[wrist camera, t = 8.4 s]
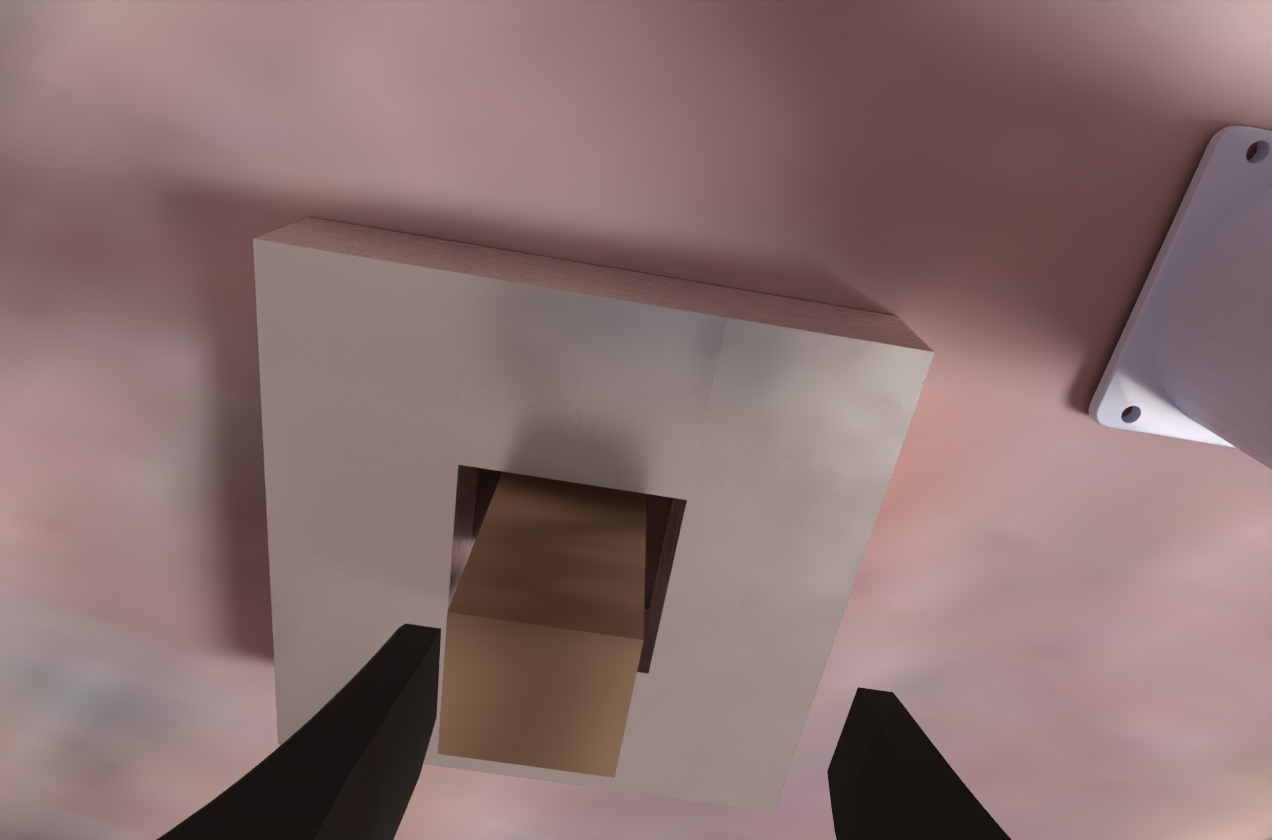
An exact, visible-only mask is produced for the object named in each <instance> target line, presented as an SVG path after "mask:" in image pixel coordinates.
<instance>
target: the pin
mask: <svg viewBox="0 0 1272 840" xmlns="http://www.w3.org/2000/svg"><path fill="white" fill-rule="evenodd" d="M646 507H647V494H645V493H638V492H632V491H626V490H619V489H613V488H606V487H600V486H593V485H587V484H580V483H574V482H567V481H561V480H554V479H548V478H542V477H535V476H529V475H522V474H516V473H509V472H502V474H501V477H500V479H499V482H498V484H497V487H496V489H495V492H494V495H493V497H492V500H491V502H490V505H489V507H488V510H487V512H486V515H485V517H484V520H483V523H482V525H481V528H480V530H479V533H478V535H477V538H476V540H475V543H474V545H473V548H472V550H471V553H470V556H469V558H468V561H467V563H466V566H465V568H464V571H463V573H462V576H461V578H460V581H459V584H458V586H457V589H456V591H455V594H454V596H453V599H452V601H451V604H450V606H449V609H448V612H447V624H446V638H445V653H444V667H443V682H442V697H441V711H440V726H439V740H438V754H442V755H449V756H457V757H464V758H472V759H479V760H486V761H494V762H501V763H509V764H516V765H524V766H531V767H538V768H546V769H553V770H561V771H568V772H575V773H583V774H590V775H598V776H605V777H613V778H615V774H616V769H617V765H618V760H619V755H620V750H621V746H622V741H623V736H624V731H625V727H626V722H627V717H628V712H629V708H630V703H631V698H632V693H633V688H634V684H635V679H636V674H637V669H638V665H639V660H640V655H641V650H642V646H643V641H644V600H645V553H646Z"/></svg>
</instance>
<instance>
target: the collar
mask: <svg viewBox="0 0 1272 840" xmlns="http://www.w3.org/2000/svg"><path fill="white" fill-rule="evenodd" d="M253 251H254V271H255V291H256V311H257V331H258V351H259V370H260V390H261V410H262V430H263V450H264V470H265V490H266V509H267V529H268V549H269V569H270V589H271V609H272V629H273V648H274V668H275V688H276V708H277V728H278V744H281V745H282V744H283V743H284V742H285V741H286V740H287V739H289V738H290V737H291V736H292V735H293V734H294V733H295V732H297V731H298V730H299V729H300V728H301V727H302V726H303V725H304V724H306V723H307V722H308V721H309V720H310V719H311V718H312V717H313V716H314V715H315V714H316V713H318V712H319V711H320V710H321V709H322V708H323V707H324V706H325V705H326V704H327V703H328V702H329V701H330V700H331V699H332V698H333V697H334V696H335V695H336V694H337V693H338V692H339V691H340V690H341V689H342V688H343V687H344V686H345V685H346V684H347V683H348V682H349V681H350V680H351V679H352V678H353V677H354V676H355V675H356V674H357V673H358V672H359V671H360V670H361V669H362V668H363V667H364V666H365V665H366V664H367V663H368V661H369V660H370V659H371V658H372V657H373V656H374V655H375V654H376V653H377V652H378V651H379V650H380V648H381V647H382V646H383V645H384V644H385V643H386V642H387V641H388V639H389V638H390V637H391V636H392V635H393V634H394V633H395V631H396V630H397V629H398V628H399V627H401V626H402V625H404V624H405V623H406V624H413V625H420V626H427V627H434V628H441V643H440V662H439V681H438V700H437V718H436V721H435V725H434V728H433V732H432V735H431V739H430V742H429V746H428V749H427V752H426V756H425V759H424V762H423V764H427V765H435V766H442V767H449V768H457V769H464V770H471V771H479V772H486V773H493V774H501V775H508V776H515V777H523V778H530V779H537V780H545V781H552V782H559V783H567V784H574V785H581V786H589V787H596V788H603V789H611V790H618V791H625V792H633V793H640V794H647V795H654V796H662V797H669V798H676V799H684V800H691V801H698V802H706V803H713V804H720V805H728V806H735V807H742V808H750V809H757V810H764V811H772V812H774V811H775V808H776V805H777V802H778V799H779V796H780V794H781V791H782V788H783V785H784V782H785V779H786V776H787V774H788V771H789V768H790V765H791V762H792V759H793V756H794V754H795V751H796V748H797V745H798V742H799V739H800V736H801V734H802V731H803V728H804V725H805V722H806V719H807V716H808V713H809V711H810V708H811V705H812V702H813V699H814V696H815V693H816V691H817V688H818V685H819V682H820V679H821V676H822V673H823V671H824V668H825V665H826V662H827V659H828V656H829V653H830V651H831V648H832V645H833V642H834V639H835V636H836V633H837V630H838V628H839V625H840V622H841V619H842V616H843V613H844V610H845V608H846V605H847V602H848V599H849V596H850V593H851V590H852V588H853V585H854V582H855V579H856V576H857V573H858V570H859V568H860V565H861V562H862V559H863V556H864V553H865V550H866V547H867V545H868V542H869V539H870V536H871V533H872V530H873V527H874V525H875V522H876V519H877V516H878V513H879V510H880V507H881V505H882V502H883V499H884V496H885V493H886V490H887V487H888V485H889V482H890V479H891V476H892V473H893V470H894V467H895V465H896V462H897V459H898V456H899V453H900V450H901V447H902V444H903V442H904V439H905V436H906V433H907V430H908V427H909V424H910V422H911V419H912V416H913V413H914V410H915V407H916V404H917V402H918V399H919V396H920V393H921V390H922V387H923V384H924V382H925V379H926V376H927V373H928V370H929V367H930V364H931V361H932V359H933V356H934V353H935V352H934V351H933V350H932V349H931V348H930V347H929V346H928V345H927V344H926V343H925V342H924V341H923V340H922V339H921V338H920V337H919V336H918V335H917V334H915V333H914V332H913V331H912V330H911V329H910V328H909V327H908V326H907V325H906V324H905V323H904V322H903V321H902V320H901V319H900V318H899V317H898V316H895V315H889V314H883V313H877V312H871V311H865V310H859V309H853V308H847V307H841V306H835V305H829V304H823V303H817V302H811V301H805V300H799V299H793V298H788V297H782V296H776V295H770V294H764V293H758V292H752V291H746V290H740V289H734V288H728V287H722V286H716V285H710V284H704V283H698V282H692V281H686V280H681V279H675V278H669V277H663V276H657V275H651V274H645V273H639V272H633V271H627V270H621V269H615V268H609V267H603V266H597V265H591V264H585V263H579V262H574V261H568V260H562V259H556V258H550V257H544V256H538V255H532V254H526V253H520V252H514V251H508V250H502V249H496V248H490V247H484V246H478V245H472V244H467V243H461V242H455V241H449V240H443V239H437V238H431V237H425V236H419V235H413V234H407V233H401V232H395V231H389V230H383V229H377V228H371V227H365V226H360V225H354V224H348V223H342V222H336V221H330V220H324V219H318V218H312V217H308V218H305V219H302V220H300V221H297V222H295V223H292V224H290V225H287V226H284V227H282V228H279V229H277V230H274V231H271V232H269V233H266V234H264V235H261V236H259V237H256V238H253ZM479 468H483V469H490V470H496V471H503V472H509V473H516V474H522V475H529V476H535V477H542V478H548V479H554V480H561V481H567V482H574V483H580V484H587V485H593V486H600V487H606V488H613V489H619V490H626V491H632V492H638V493H645V494H651V495H658V496H664V497H671V498H673V499H672V504H671V509H670V513H669V518H668V523H667V528H666V532H665V537H664V542H663V546H662V551H661V556H660V560H659V565H658V570H657V575H656V579H655V584H654V589H653V593H652V598H651V603H650V607H649V608H645V607H644V641H643V646H642V650H641V655H640V660H639V665H638V669H637V674H636V679H635V684H634V688H633V693H632V698H631V703H630V708H629V712H628V717H627V722H626V727H625V731H624V736H623V741H622V746H621V750H620V755H619V760H618V765H617V769H616V774H615V778H613V777H605V776H598V775H590V774H583V773H575V772H568V771H561V770H553V769H546V768H538V767H531V766H524V765H516V764H509V763H501V762H494V761H486V760H479V759H472V758H464V757H457V756H449V755H442V754H438V740H439V726H440V711H441V697H442V682H443V667H444V653H445V638H446V624H447V612H448V609H449V606H450V604H451V601H452V599H453V596H454V594H455V591H456V589H457V586H458V584H459V581H460V578H461V576H462V573H463V571H464V568H465V566H466V563H467V561H468V558H469V556H470V553H471V550H472V539H473V527H474V516H475V504H476V492H477V481H478V469H479Z"/></svg>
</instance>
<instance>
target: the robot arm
mask: <svg viewBox="0 0 1272 840" xmlns="http://www.w3.org/2000/svg"><path fill="white" fill-rule="evenodd" d="M1255 142H1256V143H1257V146H1258V148H1257V152H1256V154H1255V155H1254V156H1253V158H1251V159H1250V160H1248V161H1247V158H1246V153H1247V150H1248V148H1249V147H1250V146H1251V144H1253V143H1255ZM1129 406H1133V408H1132V411H1131V412H1130V413H1129V414H1128V415H1127V416H1125V417H1121V415H1122V412H1123V411H1124V410H1125V409H1126V408H1128V407H1129ZM1089 415H1090V417H1091V418H1092V419H1093V420H1094V421H1095V422H1097V423H1098V424H1099V425H1101V426H1104V427H1109V428H1115V429H1121V430H1127V431H1133V432H1139V433H1145V434H1151V435H1158V436H1164V437H1170V438H1176V439H1182V440H1188V441H1194V442H1200V443H1206V444H1213V445H1219V446H1225V447H1231V448H1237V449H1240V450H1241V451H1243V452H1244V453H1246V454H1248V455H1249V456H1251V457H1252V458H1254V459H1256V460H1257V461H1259V462H1260V463H1262V464H1264V465H1265V466H1267V467H1268V468H1270V469H1271V470H1272V131H1270V130H1265V129H1259V128H1254V127H1248V126H1228V127H1226V128H1223V129H1221V130H1220V131H1219V132H1217V133H1216V134H1215V135H1214V136H1213V137H1212V139H1211V141H1210V142H1209V144H1208V146H1207V148H1206V150H1205V152H1204V154H1203V157H1202V159H1201V161H1200V163H1199V165H1198V168H1197V170H1196V172H1195V174H1194V176H1193V179H1192V181H1191V183H1190V185H1189V187H1188V190H1187V192H1186V194H1185V196H1184V198H1183V201H1182V203H1181V205H1180V207H1179V209H1178V212H1177V214H1176V216H1175V218H1174V220H1173V223H1172V225H1171V227H1170V229H1169V231H1168V234H1167V236H1166V238H1165V240H1164V242H1163V245H1162V247H1161V249H1160V251H1159V253H1158V256H1157V258H1156V260H1155V262H1154V264H1153V267H1152V269H1151V271H1150V273H1149V275H1148V278H1147V280H1146V282H1145V284H1144V286H1143V289H1142V291H1141V293H1140V295H1139V297H1138V299H1137V302H1136V304H1135V306H1134V308H1133V310H1132V313H1131V315H1130V317H1129V319H1128V321H1127V324H1126V326H1125V328H1124V330H1123V332H1122V335H1121V337H1120V339H1119V341H1118V343H1117V346H1116V348H1115V350H1114V352H1113V354H1112V357H1111V359H1110V361H1109V363H1108V365H1107V368H1106V370H1105V372H1104V374H1103V376H1102V379H1101V381H1100V383H1099V385H1098V387H1097V390H1096V392H1095V394H1094V396H1093V398H1092V401H1091V403H1090V406H1089ZM440 643H441V628H434V627H427V626H420V625H413V624H406V623H405V624H404V625H402V626H401V627H399V628H398V629H397V630H396V631H395V633H394V634H393V635H392V636H391V637H390V638H389V639H388V641H387V642H386V643H385V644H384V645H383V646H382V647H381V648H380V650H379V651H378V652H377V653H376V654H375V655H374V656H373V657H372V658H371V659H370V660H369V661H368V663H367V664H366V665H365V666H364V667H363V668H362V669H361V670H360V671H359V672H358V673H357V674H356V675H355V676H354V677H353V678H352V679H351V680H350V681H349V682H348V683H347V684H346V685H345V686H344V687H343V688H342V689H341V690H340V691H339V692H338V693H337V694H336V695H335V696H334V697H333V698H332V699H331V700H330V701H329V702H328V703H327V704H326V705H325V706H324V707H323V708H322V709H321V710H320V711H319V712H318V713H316V714H315V715H314V716H313V717H312V718H311V719H310V720H309V721H308V722H307V723H306V724H304V725H303V726H302V727H301V728H300V729H299V730H298V731H297V732H295V733H294V734H293V735H292V736H291V737H290V738H289V739H287V740H286V741H285V742H284V743H283V744H282V745H281V746H280V747H278V748H277V749H276V750H275V751H274V752H273V753H272V754H270V755H269V756H268V757H267V758H266V759H264V760H263V761H262V762H261V763H260V764H258V765H257V766H256V767H255V768H254V769H252V770H251V771H250V772H249V773H247V774H246V775H245V776H244V777H242V778H241V779H240V780H239V781H237V782H236V783H235V784H233V785H232V786H231V787H229V788H228V789H227V790H226V791H224V792H223V793H222V794H220V795H219V796H218V797H216V798H215V799H214V800H212V801H211V802H210V803H208V804H207V805H206V806H204V807H203V808H201V809H200V810H198V811H197V812H196V813H194V814H193V815H191V816H190V817H189V818H187V819H186V820H184V821H183V822H181V823H180V824H179V825H177V826H176V827H174V828H173V829H172V830H170V831H169V832H167V833H166V834H164V835H163V836H161V837H160V838H158V839H157V840H393V839H394V837H395V834H396V832H397V830H398V827H399V825H400V822H401V820H402V817H403V815H404V813H405V810H406V808H407V805H408V803H409V800H410V798H411V796H412V793H413V791H414V788H415V786H416V783H417V781H418V778H419V776H420V772H421V769H422V766H423V762H424V759H425V756H426V752H427V749H428V746H429V742H430V739H431V735H432V732H433V728H434V725H435V721H436V718H437V700H438V681H439V662H440ZM827 772H828V780H829V789H830V798H831V806H832V813H833V820H834V828H835V834H836V838H837V840H1011V839H1010V838H1009V836H1008V835H1007V834H1006V833H1005V832H1004V831H1003V830H1002V829H1001V827H1000V826H999V825H998V824H997V823H996V822H995V820H994V819H993V818H992V817H991V816H990V814H989V813H988V812H987V811H986V810H985V809H984V807H983V806H982V805H981V804H980V803H979V801H978V800H977V799H976V798H975V797H974V795H973V794H972V793H971V792H970V790H969V789H968V788H967V787H966V785H965V784H964V783H963V782H962V781H961V779H960V778H959V777H958V775H957V774H956V773H955V772H954V770H953V769H952V768H951V767H950V765H949V764H948V763H947V762H946V760H945V759H944V758H943V756H942V755H941V754H940V753H939V751H938V750H937V749H936V747H935V746H934V745H933V744H932V742H931V741H930V740H929V738H928V737H927V736H926V734H925V733H924V732H923V731H922V729H921V728H920V727H919V725H918V724H917V723H916V721H915V720H914V719H913V717H912V716H911V715H910V714H909V712H908V711H907V710H906V708H905V707H904V706H903V705H902V703H901V702H900V701H899V699H898V698H897V697H896V696H895V694H894V693H893V692H887V691H880V690H873V689H866V688H858V689H857V692H856V695H855V697H854V700H853V703H852V705H851V708H850V711H849V714H848V716H847V719H846V722H845V725H844V727H843V730H842V733H841V736H840V738H839V741H838V744H837V747H836V749H835V752H834V755H833V757H832V760H831V763H830V766H829V768H828V771H827Z"/></svg>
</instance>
